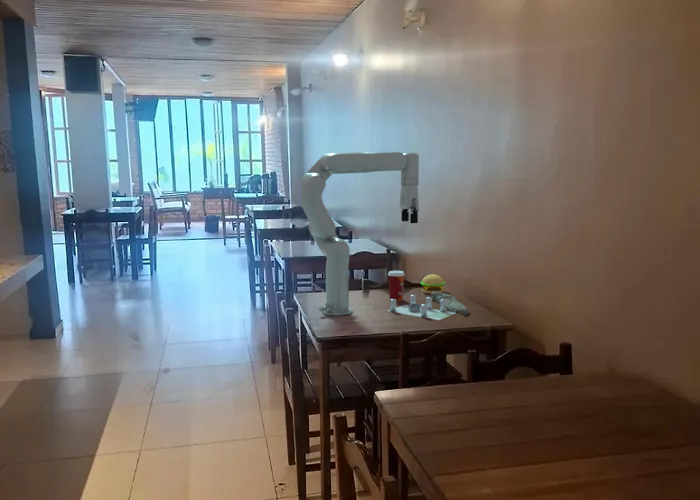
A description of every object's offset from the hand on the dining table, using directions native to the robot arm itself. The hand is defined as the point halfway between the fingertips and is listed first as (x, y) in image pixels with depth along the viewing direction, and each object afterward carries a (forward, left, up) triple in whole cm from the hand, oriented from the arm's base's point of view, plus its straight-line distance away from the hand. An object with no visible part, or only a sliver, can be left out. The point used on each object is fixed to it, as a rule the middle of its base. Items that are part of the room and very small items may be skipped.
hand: (409, 222), depth 254 cm
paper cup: (+4, +10, -38) cm, 39 cm away
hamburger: (+33, +8, -38) cm, 51 cm away
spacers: (-8, -10, -36) cm, 39 cm away
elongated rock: (+12, -13, -38) cm, 42 cm away
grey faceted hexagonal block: (-8, -8, -36) cm, 38 cm away
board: (-8, -12, -37) cm, 40 cm away
